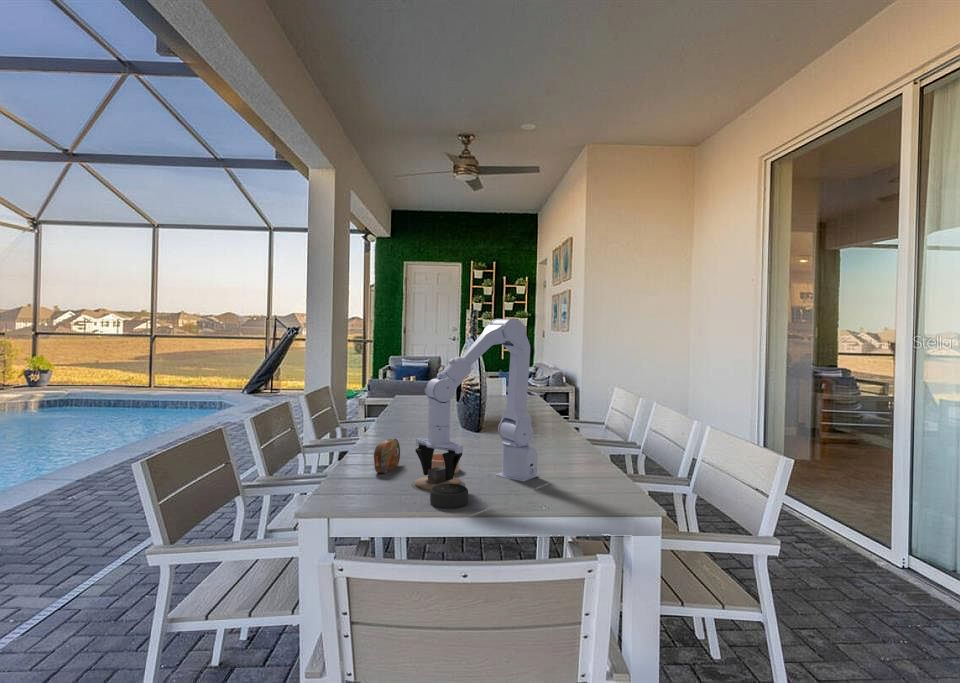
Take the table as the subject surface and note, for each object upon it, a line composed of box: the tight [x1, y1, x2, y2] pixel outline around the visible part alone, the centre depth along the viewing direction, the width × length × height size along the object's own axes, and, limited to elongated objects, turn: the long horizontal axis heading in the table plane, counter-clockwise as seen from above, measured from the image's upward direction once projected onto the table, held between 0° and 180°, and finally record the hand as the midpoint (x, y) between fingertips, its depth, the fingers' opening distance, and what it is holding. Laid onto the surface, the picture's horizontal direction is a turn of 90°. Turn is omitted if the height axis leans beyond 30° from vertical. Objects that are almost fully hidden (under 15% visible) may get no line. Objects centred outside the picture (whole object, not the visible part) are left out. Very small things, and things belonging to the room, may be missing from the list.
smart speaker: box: [429, 484, 469, 510], centre depth 133 cm, size 9×9×4 cm
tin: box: [373, 438, 401, 474], centre depth 164 cm, size 15×3×8 cm, turn 168°
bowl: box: [432, 452, 461, 474], centre depth 163 cm, size 10×10×4 cm
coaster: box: [410, 480, 466, 493], centre depth 148 cm, size 14×14×1 cm
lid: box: [414, 466, 462, 491], centre depth 148 cm, size 12×12×4 cm
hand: (438, 476), depth 148 cm, fingers open, 7 cm apart
